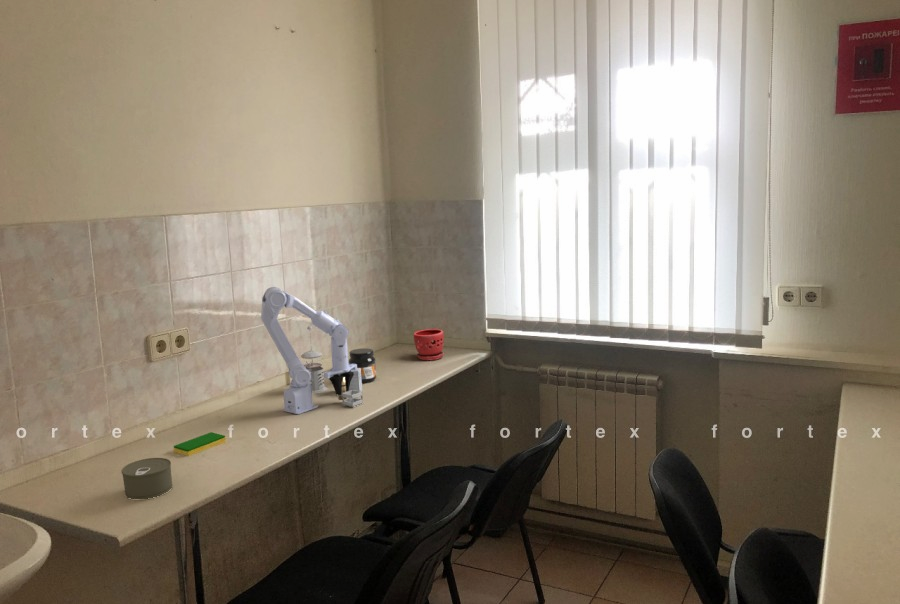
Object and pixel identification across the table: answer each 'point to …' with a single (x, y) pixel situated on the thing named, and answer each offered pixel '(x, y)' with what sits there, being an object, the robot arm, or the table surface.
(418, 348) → the plant pot
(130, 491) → the can
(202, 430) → the table surface
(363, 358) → the supplement container
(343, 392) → the gold domed cylinder
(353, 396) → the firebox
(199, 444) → the dish sponge
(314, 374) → the french press
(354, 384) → the medicine box
